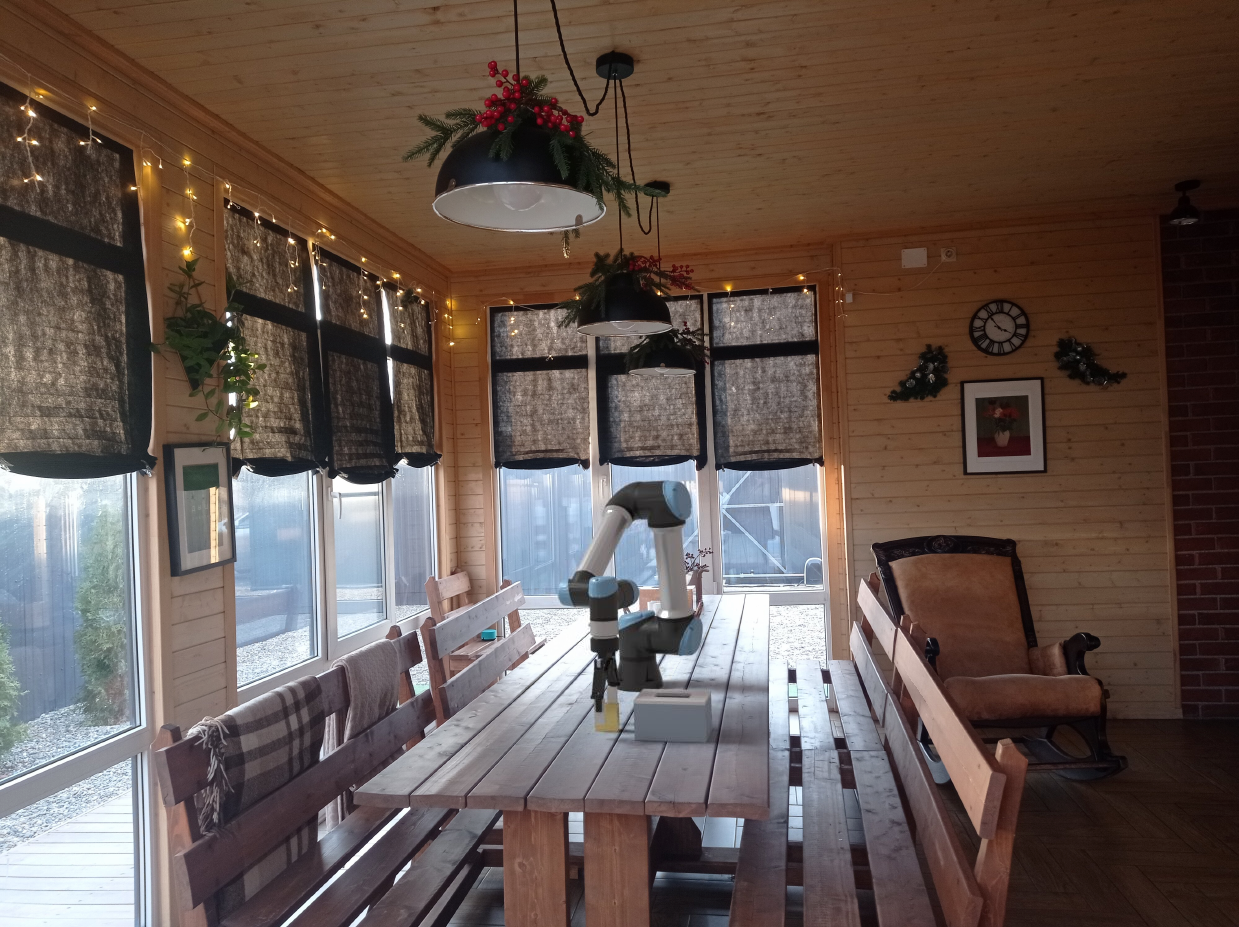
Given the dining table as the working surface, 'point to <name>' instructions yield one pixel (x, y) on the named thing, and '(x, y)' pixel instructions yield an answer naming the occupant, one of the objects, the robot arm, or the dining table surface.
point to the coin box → (673, 715)
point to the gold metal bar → (610, 718)
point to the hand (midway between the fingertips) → (606, 717)
